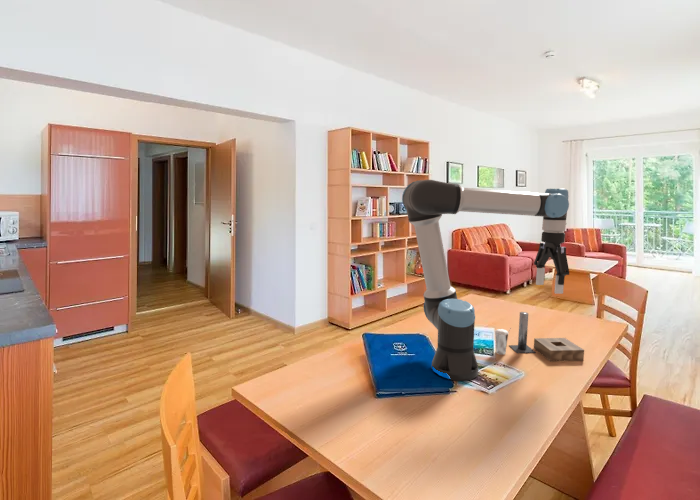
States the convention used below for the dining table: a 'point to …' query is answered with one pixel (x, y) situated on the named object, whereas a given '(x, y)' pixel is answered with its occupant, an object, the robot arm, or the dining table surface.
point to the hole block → (558, 349)
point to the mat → (515, 348)
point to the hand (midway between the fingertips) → (548, 288)
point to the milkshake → (501, 341)
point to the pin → (523, 331)
